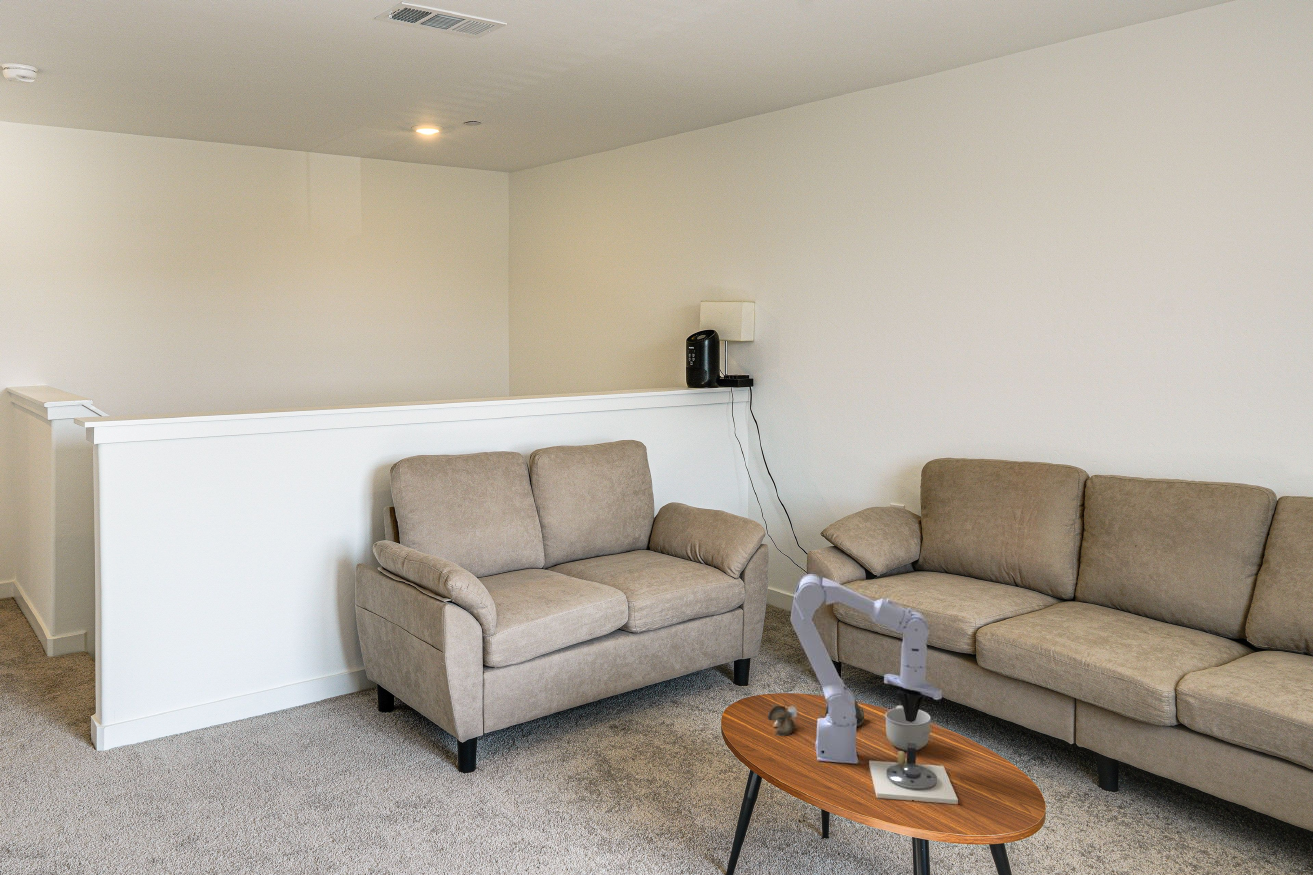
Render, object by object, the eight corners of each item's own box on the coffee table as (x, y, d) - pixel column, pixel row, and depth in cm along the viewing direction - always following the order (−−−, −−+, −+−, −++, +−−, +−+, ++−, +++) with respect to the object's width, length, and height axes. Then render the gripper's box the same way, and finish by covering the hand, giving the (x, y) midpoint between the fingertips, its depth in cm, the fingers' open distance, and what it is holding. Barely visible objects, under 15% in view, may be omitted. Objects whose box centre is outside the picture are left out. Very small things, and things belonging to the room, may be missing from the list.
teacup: (931, 756, 221) (933, 724, 221) (885, 752, 223) (887, 720, 223) (925, 734, 235) (926, 704, 234) (881, 730, 237) (883, 700, 236)
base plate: (876, 797, 199) (877, 779, 199) (868, 764, 216) (869, 747, 216) (957, 804, 197) (958, 786, 197) (943, 770, 214) (944, 753, 214)
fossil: (862, 730, 235) (845, 695, 236) (830, 742, 238) (813, 706, 239) (867, 714, 245) (851, 680, 246) (836, 725, 248) (820, 691, 249)
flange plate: (938, 791, 200) (938, 772, 199) (886, 784, 203) (886, 766, 202) (935, 763, 214) (936, 745, 214) (886, 757, 217) (887, 739, 217)
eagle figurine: (763, 716, 242) (760, 722, 233) (779, 694, 242) (777, 700, 233) (787, 735, 240) (784, 742, 231) (803, 713, 240) (801, 719, 231)
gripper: (950, 668, 213) (947, 725, 214) (897, 653, 224) (894, 707, 225) (933, 674, 208) (930, 733, 209) (879, 658, 219) (877, 714, 220)
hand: (910, 720), depth 217 cm, fingers closed
